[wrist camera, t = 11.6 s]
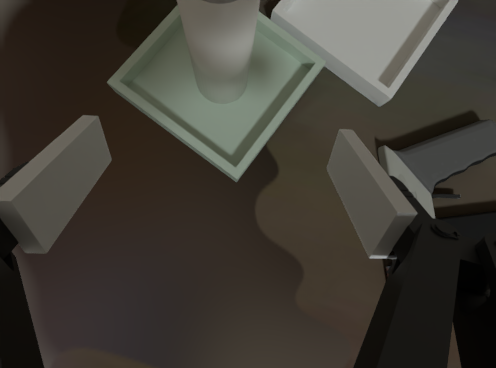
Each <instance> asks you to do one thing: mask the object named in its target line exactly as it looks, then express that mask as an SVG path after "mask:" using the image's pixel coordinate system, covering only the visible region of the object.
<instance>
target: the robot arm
mask: <svg viewBox="0 0 496 368" xmlns="http://www.w3.org/2000/svg"><path fill="white" fill-rule="evenodd" d="M110 162H111V156H110V153H109V150H108V146H107V143H106V140H105V137H104V133H103V130H102V127H101V124H100V120H99V117H98V116H87V115H83V116H82V117H81V118H79V119H78V120H77V121H76V122H75V123H74V124H73V125H71V126H70V127H69V128H68V129H67V130H66V131H64V132H63V133H62V134H61V135H60V136H59V137H58V138H56V139H55V140H54V141H53V142H52V143H51V144H50V145H48V146H47V147H46V148H45V149H44V150H43V151H41V152H40V154H38V155H37V156H36V157H35V158H33V159H32V160H31V161H30V162H26V163H24V164H22V165H20V166H18V167H16V168H14V169H13V170H11V171H10V172H9V173H8V174H7V175H6V176H5V178H2V179H1V180H0V368H44V365H43V361H42V358H41V353H40V349H39V345H38V341H37V338H36V334H35V330H34V326H33V322H32V318H31V314H30V310H29V306H28V302H27V299H26V295H25V291H24V287H23V284H22V279H21V275H20V271H19V267H18V264H17V260H16V257H15V255H14V254H13V253H12V250H13V249H14V247H15V246H16V245H17V244H19V245H20V246H21V247H22V249H23V250H24V252H25V253H47V251H48V250H49V249H50V247H51V246H52V245H53V243H54V242H55V240H56V239H57V237H58V236H59V235H60V233H61V232H62V230H63V229H64V227H65V226H66V225H67V223H68V222H69V220H70V219H71V217H72V216H73V215H74V213H75V211H76V210H77V209H78V207H79V206H80V205H81V203H82V202H83V200H84V199H85V197H86V196H87V194H88V193H89V192H90V190H91V189H92V187H93V186H94V184H95V183H96V182H97V180H98V179H99V177H100V176H101V174H102V173H103V172H104V170H105V169H106V167H107V166H108V165H109V163H110ZM327 171H328V173H329V175H330V177H331V179H332V182H333V184H334V186H335V188H336V190H337V192H338V194H339V196H340V198H341V200H342V202H343V205H344V207H345V209H346V211H347V213H348V215H349V217H350V219H351V221H352V223H353V225H354V227H355V230H356V232H357V234H358V236H359V238H360V240H361V242H362V244H363V246H364V248H365V250H366V252H367V255H368V257H369V258H387V257H388V255H389V254H390V252H391V251H392V250H393V251H394V253H395V254H396V256H397V258H396V259H395V261H394V262H393V264H392V265H391V266H390V268H389V269H388V270H387V272H386V273H388V274H389V275H388V278H387V280H386V283H385V286H384V288H383V291H382V294H381V296H380V299H379V301H378V304H377V307H376V309H375V312H374V315H373V317H372V320H371V322H370V325H369V328H368V330H367V333H366V336H365V338H364V341H363V343H362V346H361V349H360V351H359V354H358V357H357V359H356V362H355V364H354V367H353V368H447V363H448V355H449V347H450V339H451V331H452V322H453V325H454V330H455V335H456V341H457V346H458V351H459V357H460V362H461V367H462V368H496V233H488V234H486V235H485V236H484V237H483V238H482V239H481V240H480V241H479V240H476V239H472V238H468V237H464V236H462V235H461V234H460V233H459V231H458V230H457V229H456V228H454V227H453V226H452V225H450V224H449V223H447V222H445V221H442V220H440V219H436V218H432V217H431V216H430V215H429V214H428V212H427V211H426V210H425V209H424V208H423V206H422V205H421V204H420V203H419V202H418V200H417V199H416V198H414V196H413V194H412V193H411V192H410V191H409V189H408V188H407V187H406V186H405V185H404V183H403V182H401V181H400V180H398V179H397V178H396V177H394V176H388V175H387V173H386V172H385V171H384V169H383V168H382V167H381V166H380V164H379V163H378V162H377V161H376V159H375V158H374V157H373V155H372V154H371V153H370V152H369V150H368V149H367V148H366V146H365V145H364V144H363V143H362V141H361V140H360V139H359V138H358V136H357V135H356V134H355V132H354V131H353V130H347V129H339V132H338V135H337V138H336V141H335V144H334V147H333V150H332V153H331V156H330V160H329V163H328V166H327Z"/></svg>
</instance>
